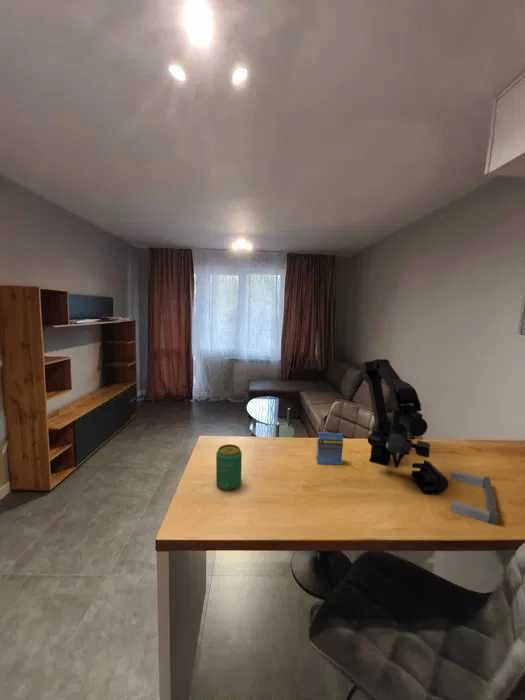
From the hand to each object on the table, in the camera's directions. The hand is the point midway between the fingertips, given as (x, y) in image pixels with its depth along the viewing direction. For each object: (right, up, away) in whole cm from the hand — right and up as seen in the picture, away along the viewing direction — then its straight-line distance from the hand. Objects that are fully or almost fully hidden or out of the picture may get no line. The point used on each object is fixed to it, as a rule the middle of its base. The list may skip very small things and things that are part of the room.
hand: (396, 467), depth 112 cm
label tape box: (-21, -2, +10) cm, 23 cm away
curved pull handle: (+18, -6, -10) cm, 21 cm away
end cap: (+9, -5, -4) cm, 11 cm away
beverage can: (-56, -4, -6) cm, 57 cm away
